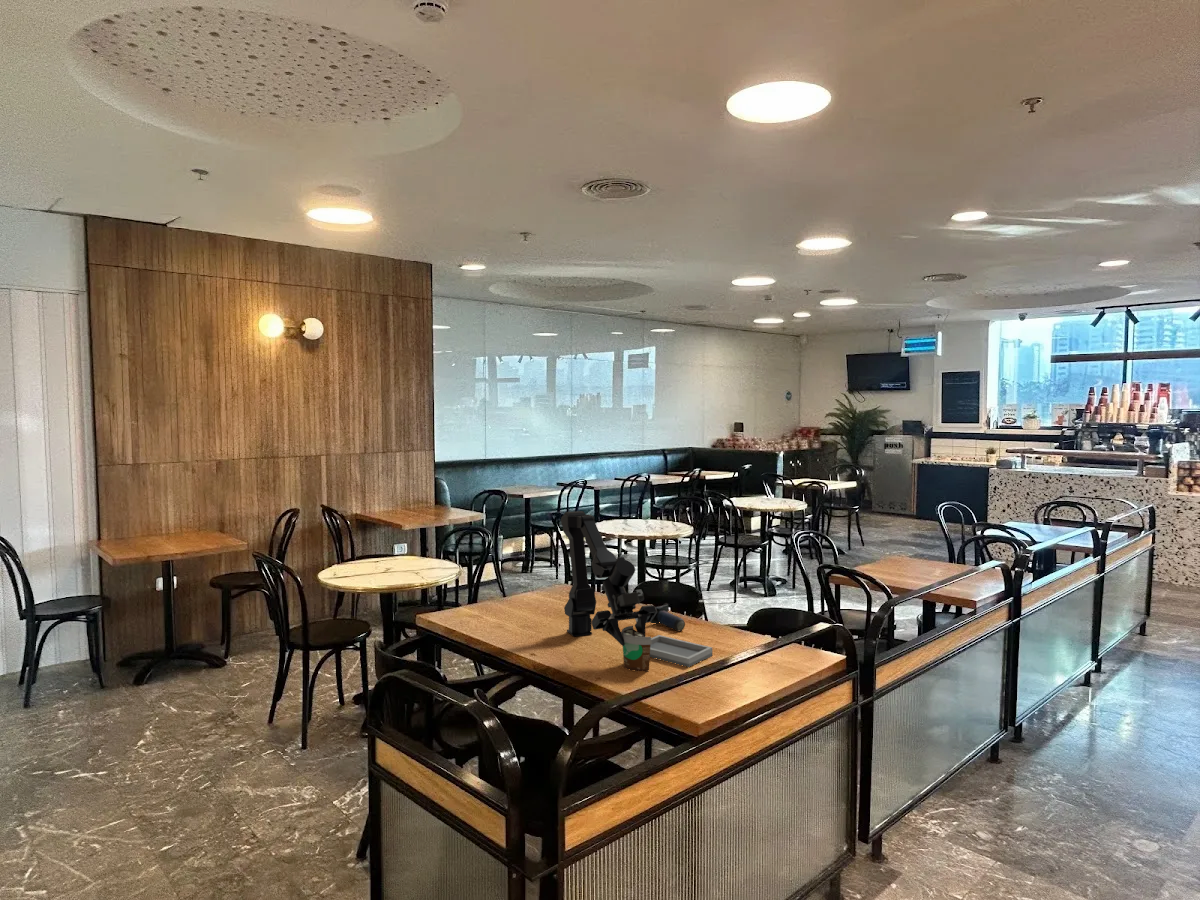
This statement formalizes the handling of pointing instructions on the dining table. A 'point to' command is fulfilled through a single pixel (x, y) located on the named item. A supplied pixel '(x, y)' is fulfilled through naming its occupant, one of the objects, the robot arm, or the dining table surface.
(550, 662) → the dining table surface
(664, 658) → the dock
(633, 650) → the food container
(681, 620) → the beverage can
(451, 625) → the dining table surface
